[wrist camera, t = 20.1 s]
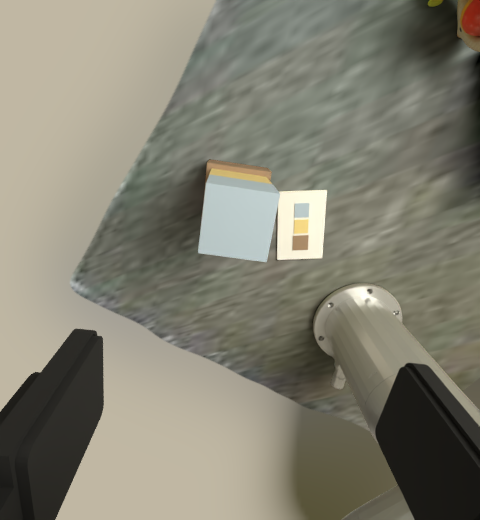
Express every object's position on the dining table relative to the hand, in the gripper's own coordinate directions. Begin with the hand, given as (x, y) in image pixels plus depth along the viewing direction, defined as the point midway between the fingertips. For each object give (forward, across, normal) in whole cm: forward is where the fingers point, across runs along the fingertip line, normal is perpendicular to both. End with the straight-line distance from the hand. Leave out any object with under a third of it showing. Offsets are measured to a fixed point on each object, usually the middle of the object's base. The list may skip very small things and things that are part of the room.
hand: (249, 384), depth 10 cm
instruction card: (+32, -9, +3) cm, 34 cm away
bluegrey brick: (+23, 0, 0) cm, 23 cm away
